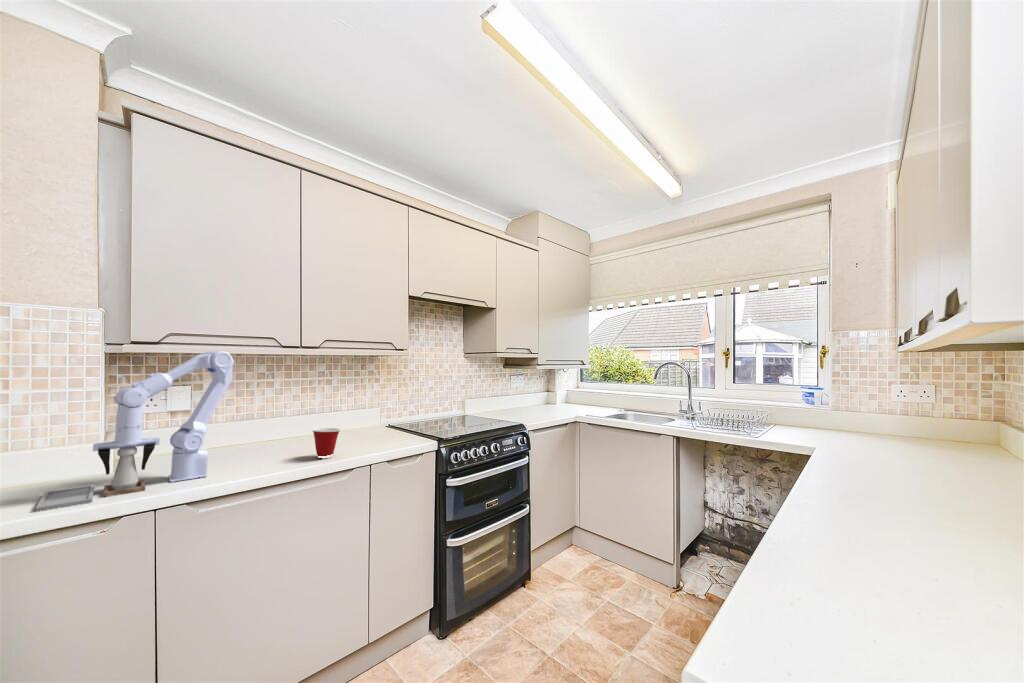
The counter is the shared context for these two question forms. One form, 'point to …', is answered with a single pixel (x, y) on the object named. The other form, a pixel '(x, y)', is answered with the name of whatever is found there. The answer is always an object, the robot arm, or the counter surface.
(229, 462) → the counter surface
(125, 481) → the salt shaker
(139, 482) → the walnut collar
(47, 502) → the grey tray
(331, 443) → the plastic cup
